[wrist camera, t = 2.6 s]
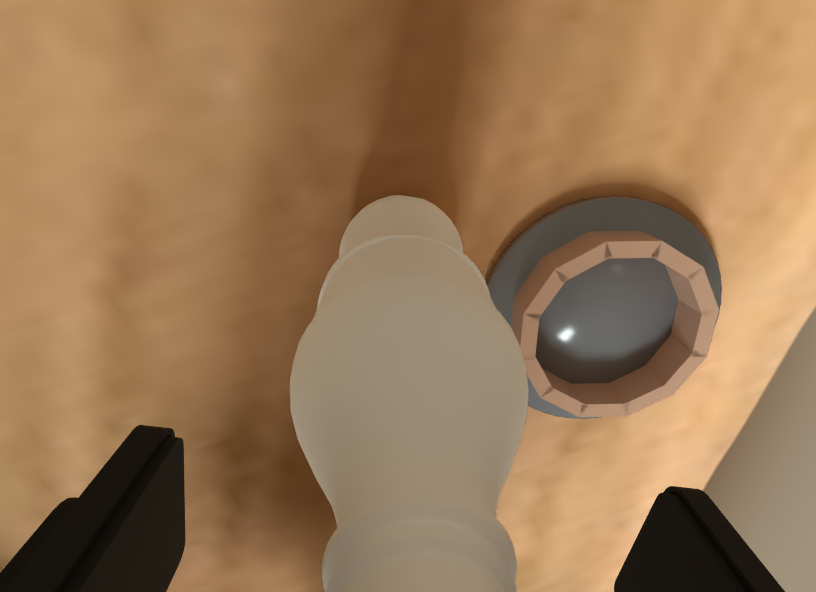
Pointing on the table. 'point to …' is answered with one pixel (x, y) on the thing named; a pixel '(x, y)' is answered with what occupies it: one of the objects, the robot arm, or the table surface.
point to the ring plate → (608, 305)
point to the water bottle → (410, 408)
